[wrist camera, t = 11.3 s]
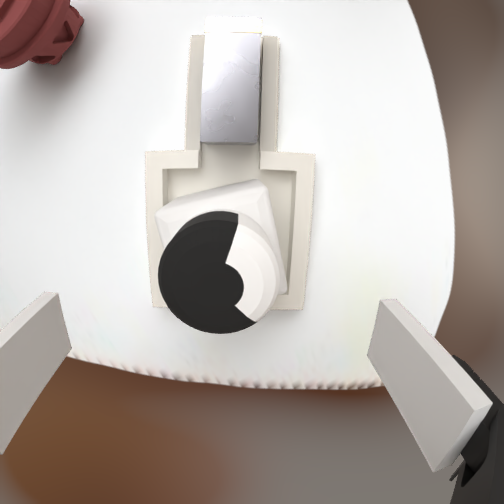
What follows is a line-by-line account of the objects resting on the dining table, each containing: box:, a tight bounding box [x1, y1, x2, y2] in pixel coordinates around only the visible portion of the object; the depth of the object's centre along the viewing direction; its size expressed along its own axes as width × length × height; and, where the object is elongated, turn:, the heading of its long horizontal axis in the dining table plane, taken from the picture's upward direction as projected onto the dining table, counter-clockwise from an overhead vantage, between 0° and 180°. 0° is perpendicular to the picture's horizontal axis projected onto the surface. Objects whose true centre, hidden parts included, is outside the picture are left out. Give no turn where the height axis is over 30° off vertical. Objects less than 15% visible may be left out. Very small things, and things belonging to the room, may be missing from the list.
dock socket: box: [145, 35, 315, 310], centre depth 26 cm, size 14×25×3 cm, turn 178°
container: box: [154, 179, 288, 334], centre depth 22 cm, size 8×8×13 cm
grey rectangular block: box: [200, 17, 262, 145], centre depth 22 cm, size 4×10×5 cm, turn 178°
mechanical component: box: [0, 0, 84, 69], centre depth 16 cm, size 12×10×10 cm
